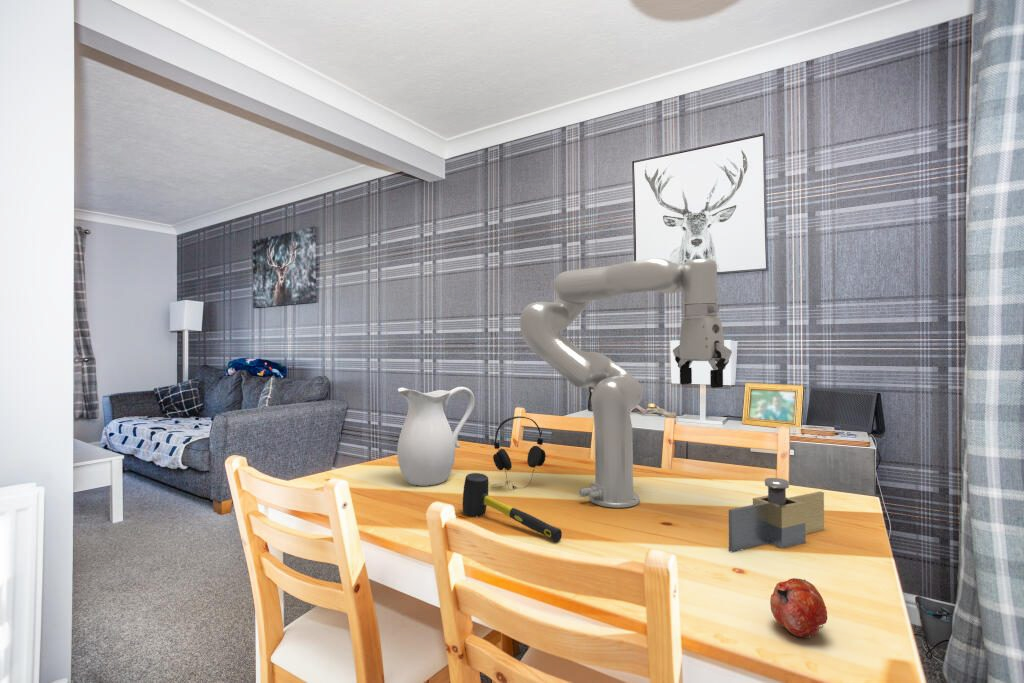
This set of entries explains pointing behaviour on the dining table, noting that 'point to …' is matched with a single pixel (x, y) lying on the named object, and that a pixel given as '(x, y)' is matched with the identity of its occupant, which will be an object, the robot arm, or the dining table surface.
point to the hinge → (776, 521)
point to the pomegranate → (798, 607)
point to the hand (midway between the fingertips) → (700, 385)
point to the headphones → (534, 455)
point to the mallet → (499, 506)
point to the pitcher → (429, 436)
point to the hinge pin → (777, 490)
